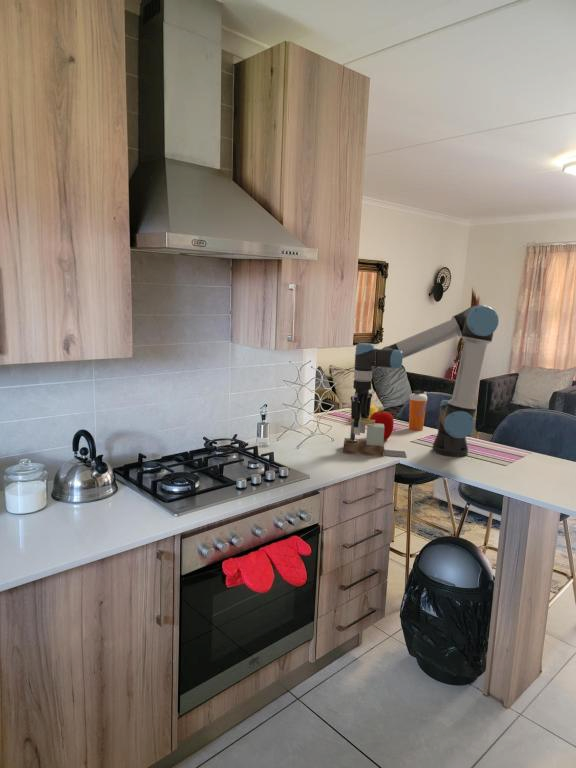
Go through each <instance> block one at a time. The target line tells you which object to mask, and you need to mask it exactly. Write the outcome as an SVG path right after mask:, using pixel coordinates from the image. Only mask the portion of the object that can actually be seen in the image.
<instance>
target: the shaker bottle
mask: <svg viewBox="0 0 576 768" xmlns="http://www.w3.org/2000/svg"><path fill="white" fill-rule="evenodd" d="M412 392H413V393H411V394H410V395H409V415H408V419H409V420H408V421H409V422H408V429H409V430H411V431H415V432H416V431H417V432H419V431H423V430H424V424H425V418H426V417H425V415H426V408H427V403H428V402H427V401H428V396H427V391H424V390H421V389H420V390H413V391H412Z"/></svg>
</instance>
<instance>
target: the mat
mask: <svg viewBox="0 0 576 768" xmlns="http://www.w3.org/2000/svg"><path fill="white" fill-rule="evenodd" d="M384 456H385V457H392V458H403V459H407V457H408V456H407V453H406V451H405V450H395V449H394V450H392V449H384Z"/></svg>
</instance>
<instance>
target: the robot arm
mask: <svg viewBox="0 0 576 768" xmlns="http://www.w3.org/2000/svg"><path fill="white" fill-rule="evenodd" d="M498 325H499V316H498V314H497V312H496V310H495V309H494V308H492V307H491V306H488V305H482V304H479V305H473V306H470V307H468V308H466V309H465V310H463V311H461V312H458V313H457V314H455V315H453V316H452V317H451V319H450V320H447V321H444V322H442V323H440V324H438V325H435V326H433V327H430V328H427V329H426V330H423V331H422V332H418V333H416V334H414V335H412V336H410V337H406V338H405V339H403V340H399V341H397V342H395V343H392V344H390V345H389V346H384V347H382V348H375V345H374V344H373V343H369V342H359V343H357V344H356V345H355V354H354V375H353V378H354V380H353V386H352V387H353V389H354V390H355V391H354V396H352V395H351V396H350V401H351V403H350V405H351V407H350V408H351V409H350V411H351V413H350V416H351V417H350V418H352V419H354V434H355V436H360V435H361V434H365V433H366V424H362V423H361V420H360V419H366V418H367V419H368V417H367V416H369V413H370V405H372V404H371V403H372V399H373V393H370V390H372V381H371V380H373V368H374V367H376V368H377V367H378V368H389V369H401V368H402V366H403V359H406V358H408V357H410V356H413V355H415V354H418V353H419V352H422V351H424V350H427V349H430V348H432V347H435V346H437V345H439V344H442V343H444V342H447V341H449V340H452V339H454V338H456V337H459V338H461V339H463V341H464V343H463V347H462V351H461V356H460V361H459V366H458V368H457V369H458V370H457V373H456V379H455V383H454V388H453V392H452V397H451V399H449V400H447V399H442V400H441V401H440V404H439V416H438V428H437V434H436V437H435V438H434V441H433V443H432V448H431V450H432V451H433V452H434V453H436V454H439V455H443V456H449V457H464V456H467V455H469V454H468V453H469V447H468V442H467V437H469V436H470V435H471V434H472V433H473V431H474V430H475V425H476V424H475V416H476V411H477V406H476V405H475V398H476V393H477V390H478V385H479V380H480V375H481V372H482V368H483V367H482V366H483V361H484V358H485V354H486V349H487V346H488V345H489V344H491V343H492V341H493V337H494V333H495V332H496V330H497V328H498ZM360 414H361V417H362V418H361V417H360Z"/></svg>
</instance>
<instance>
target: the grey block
mask: <svg viewBox="0 0 576 768" xmlns="http://www.w3.org/2000/svg"><path fill="white" fill-rule="evenodd" d="M366 425H367V427H366V439H365V440H366V445H376V446H383V441H385V440H384V424H378V423H375V425H371V424H366Z"/></svg>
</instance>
